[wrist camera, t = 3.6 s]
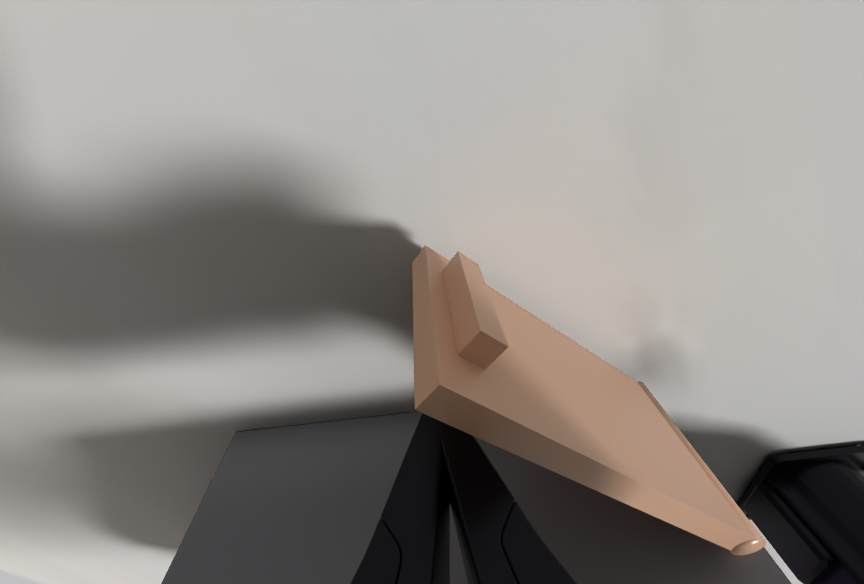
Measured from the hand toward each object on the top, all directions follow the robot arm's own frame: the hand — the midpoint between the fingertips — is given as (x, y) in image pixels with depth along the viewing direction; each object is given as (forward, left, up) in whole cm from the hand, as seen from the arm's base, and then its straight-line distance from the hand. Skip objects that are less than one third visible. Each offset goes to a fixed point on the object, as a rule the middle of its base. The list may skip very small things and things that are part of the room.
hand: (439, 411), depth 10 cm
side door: (-5, +1, -4) cm, 6 cm away
